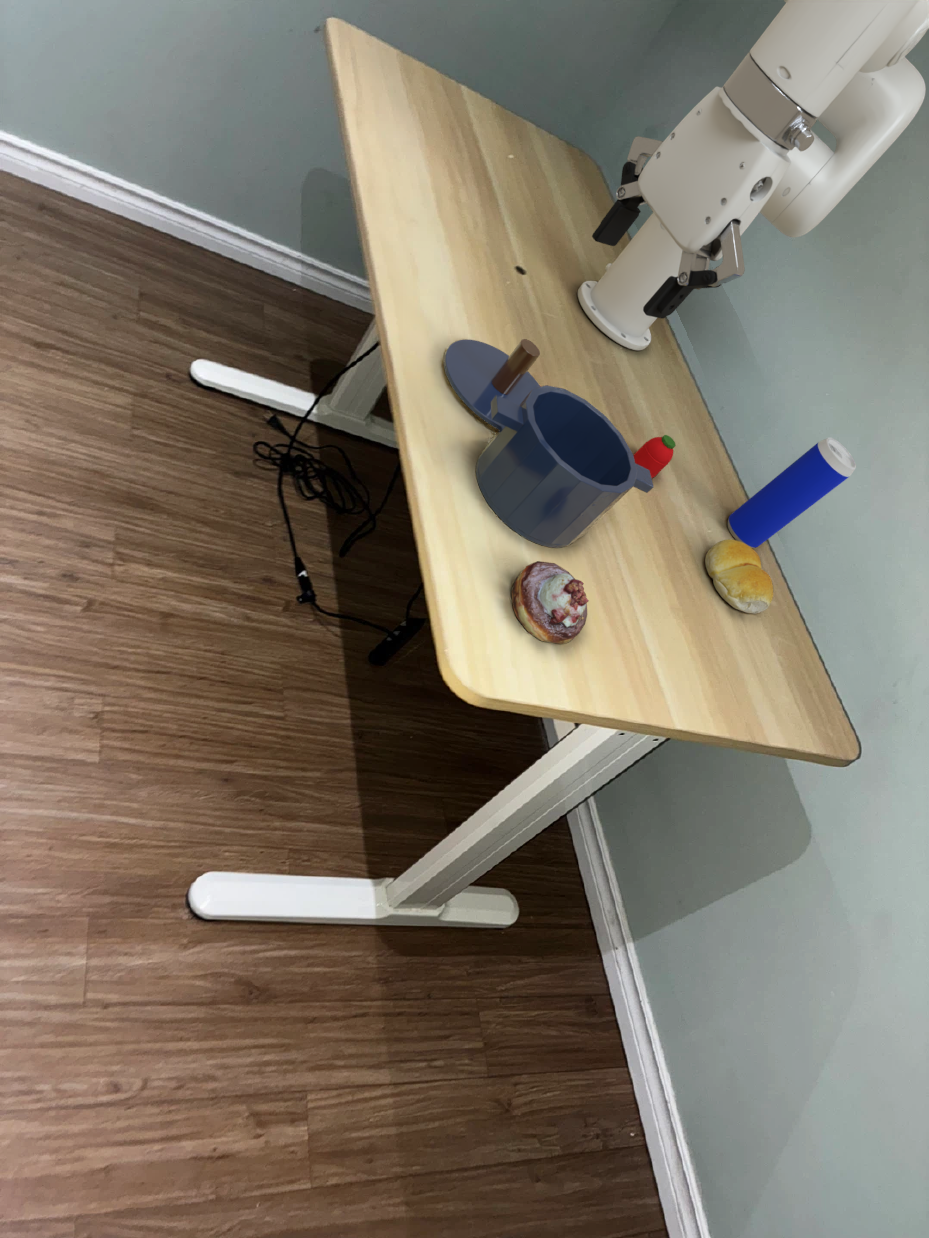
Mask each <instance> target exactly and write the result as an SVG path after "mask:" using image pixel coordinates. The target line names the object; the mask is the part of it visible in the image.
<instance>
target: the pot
mask: <svg viewBox="0 0 929 1238" xmlns="http://www.w3.org/2000/svg"><path fill="white" fill-rule="evenodd" d="M491 414H492V420H494V421H496V422H498V423H500V424H502V425H503V426H502V427H501V428H500V430H498V431H497V432H496V433H495V434H494V436H493V437H492V438H491V439H490V441H489V442H488V443H487V444H486V446H485V447H484V448H483V450H482V452H481V453H480V454H479V456H478V458H477V460H476V465H475V476H476V480H477V484H478V488H479V489H480V492H481V494H482V496H483V497H484V500H485V501H486V503H487V504H488V506H489V507H490V509H491V510H492V511H493V512H494V514H496V516H497V517H498V518H499V519H500V520H501V521H502V522H503V523H504V524H505V525H506V526H507V527H509V528H510V529H511V530H512V531H514V532H515V533H516V534H518V535H519V536H521V537H523V538H524V539H526V540H528V541H530V542H532V543H535V544H537V545H540V546H542V547H547V548H553V549H558V548H559V549H560V548H565V547H569V546H570V545H572V544H574V543H575V542H576V541H577V540H578V539H580V538H582V536H584V535H585V534H586V533H587V531H589V530H590V529H591V528H592V527H593V526H594V525H595V524H596V523H597V522H598V521H599V520H600V519H601V518H603V516H605V514H606V513H607V512H608V511H609V510H611V509H612V508H613V507H614V506H615V505H616V504H617V503H618V502H619V501H620V500H621V499H622V498H623V497H624V496H625V495H626V494H627V493H628V492H630V491H631V489H632V488H635V489H637V490H640V491H642V492H644V493H646V494H648V493H649V492H650V491H651V490H652V489H653V488H654V482H653V478H651V474H650V470H648V469H646V468H644V467H642V466H640V465H638V464H636V463H635V460H634V456H633V455H634V453H633V451H632V450H631V448H630V447H629V445H628V443H627V441H626V439H625V438H624V436H623V434H622V433H621V432H620V431H619V430H618V428H617V427H616V426H615V425H614V424H613V423H612V422H611V420H610V419H609V418H608V417H607V416H606V415H605V414H604V413H603V412H601V411H600V410H599V409H598V408H596V407H595V406H594V405H593V404H592V403H590V402H589V401H588V400H586V399H585V398H583V397H581V396H579V395H577V394H575V393H573V392H571V391H570V390H567V389H566V388H562V387H558V386H552V385H542V386H540V387H538V388H535V389H532V390H531V391H530V393H529V394H528V395H527V396H526V398H525V399H524V400H523V401H522V402H521V404H520V405H517V404H515V403H513V402H510V401H508V400H506V399H504V398H502V397H500V396H498V395H496V396H495V397H494V398H493V400H492V401H491Z"/></svg>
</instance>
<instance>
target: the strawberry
mask: <svg viewBox="0 0 929 1238" xmlns="http://www.w3.org/2000/svg"><path fill="white" fill-rule="evenodd" d="M675 447H676V442H675V440H674V439H673V438H672V437H671V436H669V435H667V434H664V435H662V436H655V437H652V438H649V440H647V441H646V442H645V443H643V445H642V446H641V447H640V448H639V449H638V450H636V452H635V453H633V456H634V460H635V463H636V464H638V465H640V466H642V467H644V468H646V469H648V470H650V474H651V478H652V479H654V478H655V477H656V476H657V475H658V474H659V473H660V472H661V471H662V470H664V468H666V466H667V465H669V463H670V462H671V461H672V459H673V456H674V448H675Z"/></svg>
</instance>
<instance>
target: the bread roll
mask: <svg viewBox="0 0 929 1238" xmlns="http://www.w3.org/2000/svg"><path fill="white" fill-rule="evenodd" d="M704 564H705V568H706V572H707V574H708V577H710V578H711V579H712V580H713V586H714V588H715V590H716V591H717V593H718V594H719V595H720V597H721V598H722V599H723V600H724V601H725V602H726V603H728V604H729V605H730V606H731V607H732V608H733V609H734V610H735V609H736V610H738V611H741V612H744V613H747V614H759V613H763V612H765V611H766V610H767V609H769V606H770V605H771V603H772V601H773V598H774V585H773V581H772V580H773V579H772V578H771V576H770V575H769V574H768V572H767V571H765V570H764V569H762V562H761V558H760V555H759V554H758V553H757V552H756V551H755V550H754V548H751V547H750V546H748V545H746V544H745V543H743V542H740V541H737V540H736V539H729V538H728V539H724V540H723V539H722V540H720V541H718V542H717V543H715V544H713V545H712V547H711V548H710V549H709V550H708V551H707V553H706V554H705V559H704Z"/></svg>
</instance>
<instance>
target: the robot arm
mask: <svg viewBox="0 0 929 1238" xmlns="http://www.w3.org/2000/svg"><path fill="white" fill-rule="evenodd" d="M783 2H784V3H785V4H784V5H783V6H782V7H781V9H780V10H779V12H778V13H777V14H776V16H775V17H774V18H773V20H772V21H771V22H770V23H769V25H768V26H767V27H766V29H765V30H764V31H763V33H762V34H761V35H760V37H759V38H758V39H757V41H756V42H755V43H754V44H753V46H752V47H751V49H749V52H747V54H746V55H745V56H744V58H743V59H742V60H741V62H740V63H739V64H738V66H737V67H736V68H735V70H734V71H733V72H732V73H731V75H730V76H729V77H728V79H727V80H726V81H725V82H724V84H723V86H721V87H720V86H715V87H714V88H713V89H712V90H711V91H709V92H708V93H707V94H706V95H705V96H704V97H702V99H701V100H700V101H699V102H698V103H697V104H696V105H695V106H694V107H693V108H692V109H691V110H690V111H689V112H688V113H687V114H686V115H685V116H684V117H683V119H681V121H680V122H679V123H678V124H676V126H675V127H674V129H673V130H672V131H671V132H670V133H669V134H668V135H667V137H666V138H665V139H664V140H659V139H654V138H649V137H644V136H641V135H638V136H635V137H634V138H633V139H632V143H631V145H630V148H629V150H628V151H629V152H628V154H627V158H626V159H627V161H626V162H625V163H624V164H623V166H622V170H621V177H620V186H619V187H617V189H616V193H615V197H616V201H615V202H614V203H613V205H612V206H611V208H610V209H609V210H608V212H607V213H606V215H605V216H604V217H603V218H602V220H601V221H600V223H599V225H598V226H597V227H596V229H595V230H594V232H593V233H592V235H591V237H592V239H593V240H594V242H596V243H599V244H604V245H607V246H611V247H615V246H616V245H618V243H620V240H621V239H623V237H624V236H625V235H626V233H627V232H628V230H629V229H630V228H631V226H632V225H634V223H635V222H636V221H637V219H638V217H640V213H642V211H641V210H640V208H639V207H640V206H643V205H647V206H648V207H649V209H650V210H651V212H652V213H651V214H650V215H649V216H648V218H647V219H646V220H645V222H644V223H643V224H642V226H641V227H640V228H639V229H638V230H637V232H636V233H635V234H634V236H633V237H632V238H631V239H630V241H629V242H628V243H627V245H626V246H625V247H624V248H623V250H622V251H621V252H620V253H619V255H618V256H617V257H616V258H615V260H614V261H613V262H609V263H607V264H606V265H605V269H604V270H605V273H603V274H602V276H601V278H600V279H599V280H598V281H596V280H585V281H584V282H583V283H581V285H580V286H579V288H578V290H577V299H578V301H579V304H580V306H581V308H582V309H583V312H584V313H585V315H586V316H587V317H588V318H589V319H590V321H591V322H592V323H593V325H595V326H596V327H597V328H598V329H599V331H601V332H602V333H603V334H604V335H606V336H607V337H609V339H611V340H612V341H614V342H616V343H617V344H618V345H620V346H622V347H624V348H626V349H629V350H632V351H643V350H645V349H646V348H647V347H648V346H649V345H650V344H651V343H652V334H651V330H650V327H651V326H652V325H653V323H654V322H656V320H657V319H662V320H663V319H665V318H667V317H668V316H670V315H672V314H674V312H675V311H676V310H677V309H678V307H680V306H681V304H682V303H683V302H684V301H685V300H686V299H687V298H688V296H689V295H690V294H692V292H693V291H694V290H697V291H699V290H700V291H701V290H702V289H713V288H720V287H721V286H722V285H723V284H727V283H729V282H731V281H735V280H736V279H739V278H741V277H743V276H744V274H745V271H746V269H745V261H744V253H743V247H742V246H743V245H742V239H741V238H742V235H743V234H744V232H746V230H747V229H748V228H749V227H750V225H751V224H752V223H753V221H754V220H755V219H756V218H757V216H758V214H759V213H760V214H761V215H762V216H763V217H764V218H765V219H766V220H767V221H768V222H769V223H770V224H771V225H772V226H773V227H775V228H776V229H777V230H778V231H779V232H780V233H782V234H783V235H785V236H787V237H789V238H800V237H802V236H804V235H807V234H808V233H809V232H811V231H812V230H813V229H815V228H816V227H817V226H818V225H819V224H820V223H821V222H822V221H824V219H825V218H826V217H827V216H828V215H829V214H830V213H831V212H832V211H833V210H834V208H835V207H837V206H838V204H839V203H840V202H841V201H842V200H843V198H844V197H846V195H848V193H849V192H850V191H851V190H852V189H853V188H854V187H855V186H856V185H857V183H859V181H861V179H862V178H863V177H864V175H866V173H868V171H869V170H870V169H871V168H872V167H873V166H874V165H875V164H876V163H877V161H878V160H879V159H880V158H881V157H882V156H883V155H884V154H885V153H886V151H888V150H889V148H890V147H891V146H892V145H893V144H894V143H895V141H897V139H898V138H899V137H900V136H901V135H902V133H904V131H905V130H906V129H907V128H908V126H909V125H910V123H911V122H912V121H913V120H914V118H915V117H916V115H917V114H918V112H919V111H920V109H921V107H922V105H923V102H924V100H925V97H926V91H927V90H926V89H927V87H926V83H925V80H924V78H923V76H922V74H921V73H920V71H919V70H918V69H917V68H916V66H915V65H914V64H913V63H912V62H910V60H909V59H907V57H906V56H907V55H908V54H909V53H910V52H911V51H912V50H913V49H914V48H915V47H916V46H917V44H918V43H920V41H921V40H922V39H923V37H925V35H926V34H927V32H928V30H929V0H783ZM817 121H818V122H819V123H820V124H821V125H822V126H823V127H824V128H825V129H826V130H827V131H828V132H829V133H830V134H831V135H832V136H833V137H834V138H835V143H836V144H835V145H836V146H835V150H832V149H831V148H830V147H829V146H828V145H827V144H826V143H825V142H824V141H823V140H822V139H821V138H820V137H819V136H818V135H817V133H815V132H814V131H813V130H812V128H813V127H814V125H815V124H816V123H817ZM648 158H649V160H648ZM646 161H647V162H646ZM721 259H722V261H721V263H720V264H719V265H718V266H716V267H714V268H713V269H709V268H710V264H711V261H712V262H717V261H719V260H721Z"/></svg>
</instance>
